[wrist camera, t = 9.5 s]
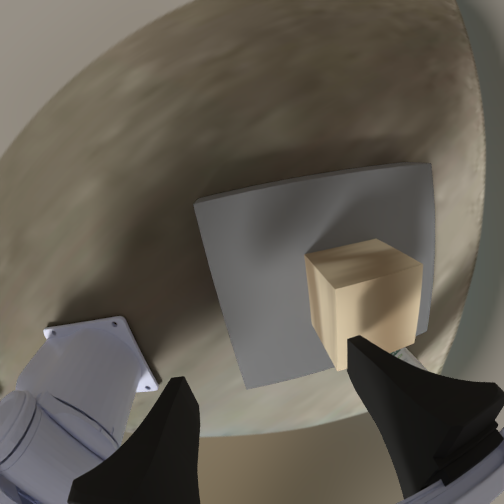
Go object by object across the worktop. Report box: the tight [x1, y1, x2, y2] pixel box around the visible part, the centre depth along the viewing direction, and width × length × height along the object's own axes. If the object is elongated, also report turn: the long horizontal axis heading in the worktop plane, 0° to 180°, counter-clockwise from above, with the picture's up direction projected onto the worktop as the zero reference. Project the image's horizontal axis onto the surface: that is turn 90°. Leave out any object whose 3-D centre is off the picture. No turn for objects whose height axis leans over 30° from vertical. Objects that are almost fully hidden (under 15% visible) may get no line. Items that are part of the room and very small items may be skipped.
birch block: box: [304, 239, 423, 371], centre depth 15 cm, size 5×5×5 cm
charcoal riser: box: [193, 162, 435, 389], centre depth 19 cm, size 16×14×3 cm
